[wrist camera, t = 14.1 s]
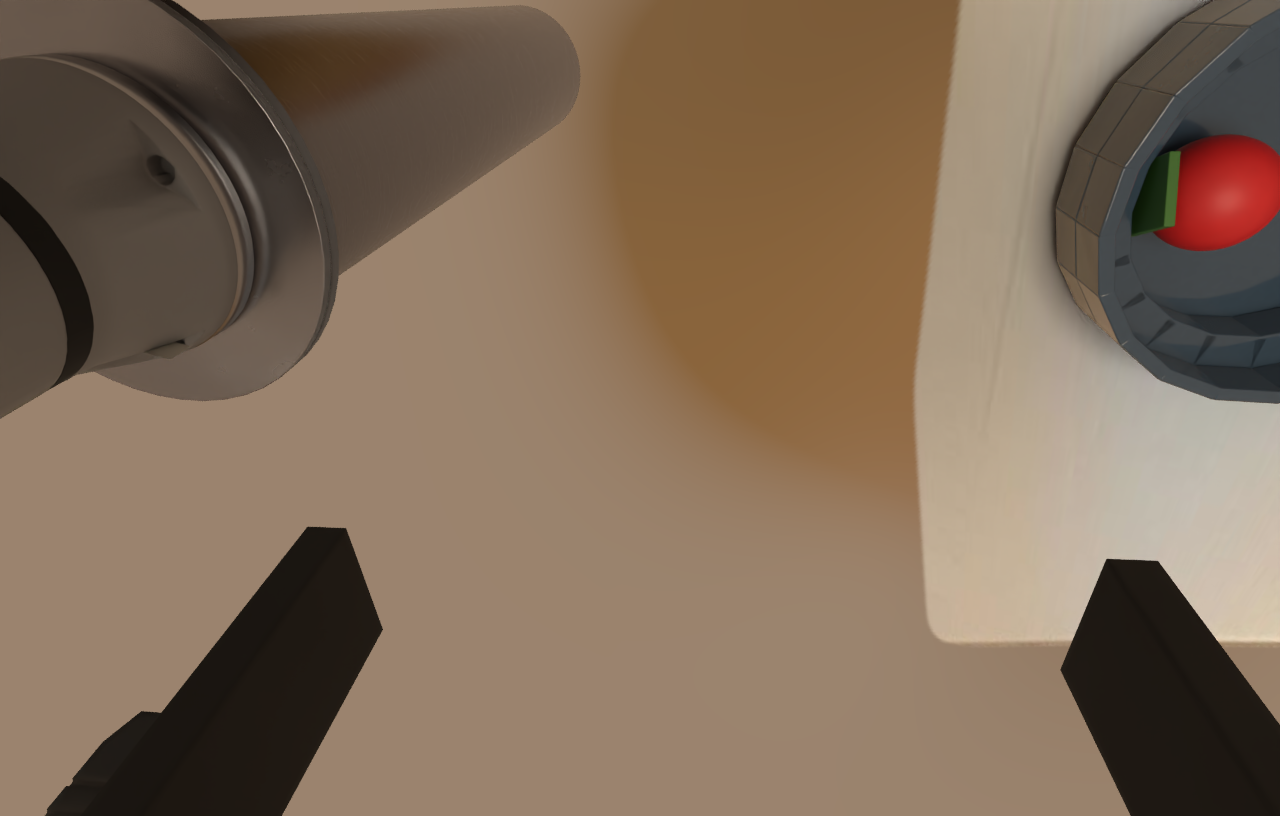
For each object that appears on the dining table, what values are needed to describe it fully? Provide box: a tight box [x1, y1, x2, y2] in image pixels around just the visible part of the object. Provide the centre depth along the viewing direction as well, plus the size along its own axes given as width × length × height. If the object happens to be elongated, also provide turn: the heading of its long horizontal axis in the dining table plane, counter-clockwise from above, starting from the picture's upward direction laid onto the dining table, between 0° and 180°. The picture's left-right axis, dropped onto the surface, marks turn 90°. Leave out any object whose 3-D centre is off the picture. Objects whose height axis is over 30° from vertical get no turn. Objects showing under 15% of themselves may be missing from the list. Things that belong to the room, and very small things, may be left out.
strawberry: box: [1131, 134, 1280, 251], centre depth 27 cm, size 4×4×4 cm
